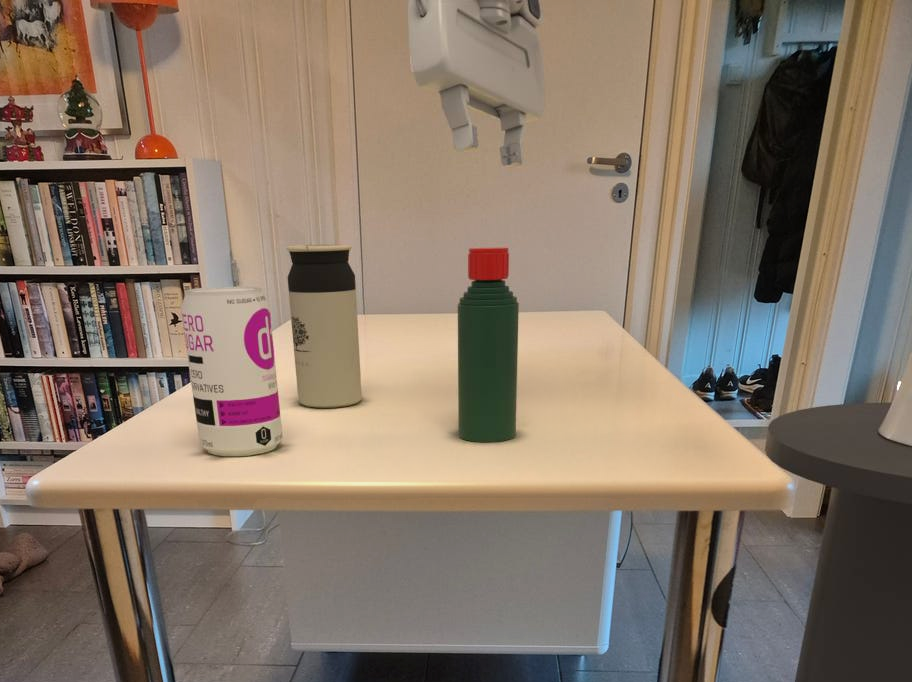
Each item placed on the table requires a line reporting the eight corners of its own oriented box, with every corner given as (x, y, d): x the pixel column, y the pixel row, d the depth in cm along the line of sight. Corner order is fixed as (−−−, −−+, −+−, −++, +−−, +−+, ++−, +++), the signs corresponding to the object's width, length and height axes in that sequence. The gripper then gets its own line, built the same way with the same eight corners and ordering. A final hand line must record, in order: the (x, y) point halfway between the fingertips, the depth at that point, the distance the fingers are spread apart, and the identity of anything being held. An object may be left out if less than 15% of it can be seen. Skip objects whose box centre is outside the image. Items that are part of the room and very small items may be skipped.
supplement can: (296, 440, 89) (282, 285, 82) (258, 460, 82) (239, 292, 75) (227, 436, 91) (208, 286, 85) (185, 455, 84) (160, 292, 78)
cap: (510, 277, 84) (510, 247, 83) (505, 279, 81) (506, 248, 80) (471, 277, 85) (471, 247, 84) (465, 280, 81) (465, 249, 80)
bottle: (518, 429, 92) (522, 251, 84) (512, 443, 86) (516, 253, 79) (463, 428, 93) (462, 252, 85) (454, 441, 87) (452, 254, 80)
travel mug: (353, 394, 112) (344, 243, 104) (369, 405, 105) (360, 245, 97) (293, 399, 110) (279, 245, 102) (305, 411, 103) (291, 247, 95)
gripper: (444, -66, 68) (466, 128, 71) (549, 10, 84) (563, 165, 88) (379, -34, 71) (404, 149, 75) (493, 33, 87) (508, 181, 91)
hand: (490, 158), depth 81 cm, fingers open, 8 cm apart
